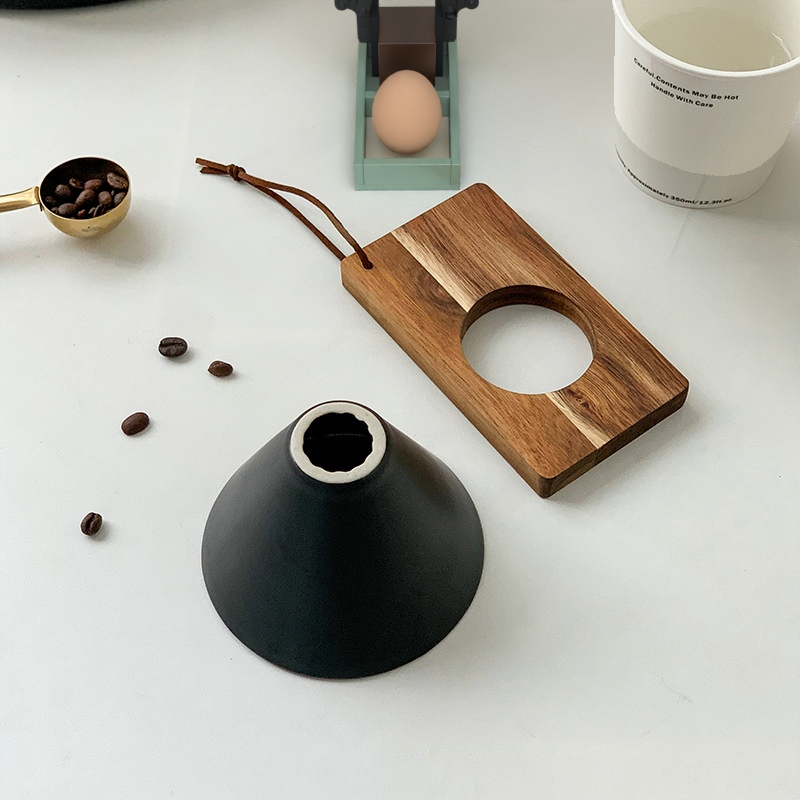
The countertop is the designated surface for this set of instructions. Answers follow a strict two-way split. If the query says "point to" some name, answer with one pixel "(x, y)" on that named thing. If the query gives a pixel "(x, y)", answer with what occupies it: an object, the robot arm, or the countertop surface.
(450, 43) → the sorting tray
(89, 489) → the countertop surface
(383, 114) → the egg
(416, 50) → the walnut block
